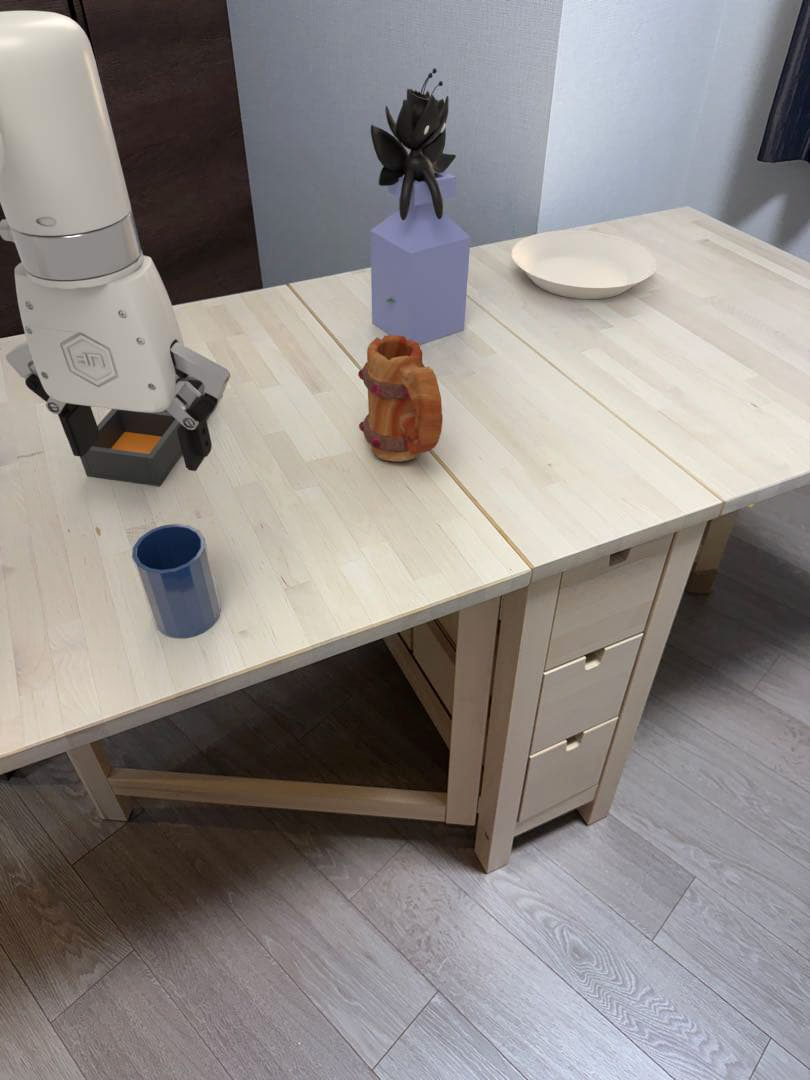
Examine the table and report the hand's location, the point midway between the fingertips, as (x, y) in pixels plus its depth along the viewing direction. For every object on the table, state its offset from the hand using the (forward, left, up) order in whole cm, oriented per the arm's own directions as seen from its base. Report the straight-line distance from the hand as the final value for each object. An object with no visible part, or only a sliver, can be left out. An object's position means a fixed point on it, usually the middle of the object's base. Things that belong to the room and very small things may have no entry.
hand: (142, 453), depth 61 cm
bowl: (+36, +89, -20) cm, 98 cm away
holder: (-16, +27, -19) cm, 37 cm away
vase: (+11, +64, -20) cm, 68 cm away
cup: (0, 0, -19) cm, 19 cm away
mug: (+16, +29, -20) cm, 38 cm away
